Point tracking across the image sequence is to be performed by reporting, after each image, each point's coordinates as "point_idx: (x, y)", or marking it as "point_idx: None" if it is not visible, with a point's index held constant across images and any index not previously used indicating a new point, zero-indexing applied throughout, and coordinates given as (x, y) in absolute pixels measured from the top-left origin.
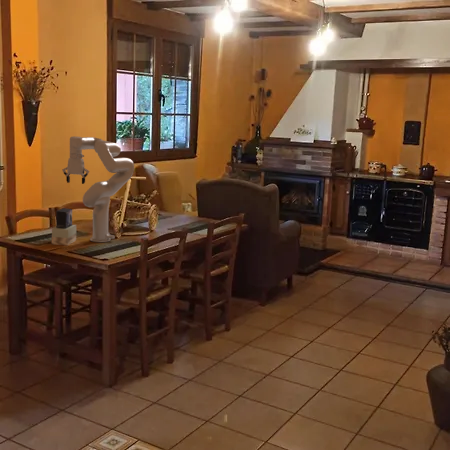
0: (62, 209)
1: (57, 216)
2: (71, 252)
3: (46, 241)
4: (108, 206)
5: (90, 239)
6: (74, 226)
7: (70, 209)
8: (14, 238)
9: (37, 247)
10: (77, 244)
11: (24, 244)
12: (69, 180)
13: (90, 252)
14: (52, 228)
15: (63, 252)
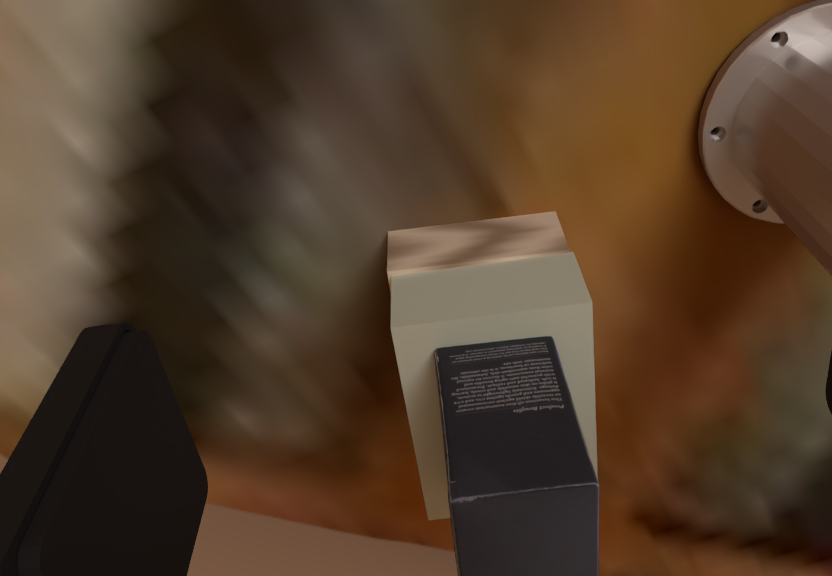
0: (494, 574)
1: None
2: (672, 529)
3: (323, 356)
4: None
5: (715, 188)
6: (592, 349)
7: (587, 515)
8: (4, 375)
9: (374, 514)
10: (632, 341)
11: (230, 486)
12: (131, 416)
13: (810, 488)
14: (428, 512)
15: (617, 546)
